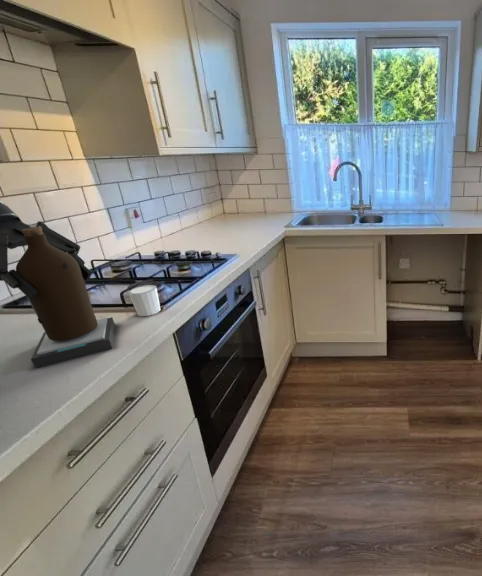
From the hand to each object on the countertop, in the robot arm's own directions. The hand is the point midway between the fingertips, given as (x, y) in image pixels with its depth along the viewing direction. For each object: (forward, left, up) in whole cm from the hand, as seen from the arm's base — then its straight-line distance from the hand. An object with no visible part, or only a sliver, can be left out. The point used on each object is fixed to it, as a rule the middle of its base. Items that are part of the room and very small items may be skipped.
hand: (63, 285), depth 81 cm
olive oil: (-2, +2, -12) cm, 13 cm away
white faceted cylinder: (+13, +13, -16) cm, 25 cm away
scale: (-2, +2, -16) cm, 16 cm away
